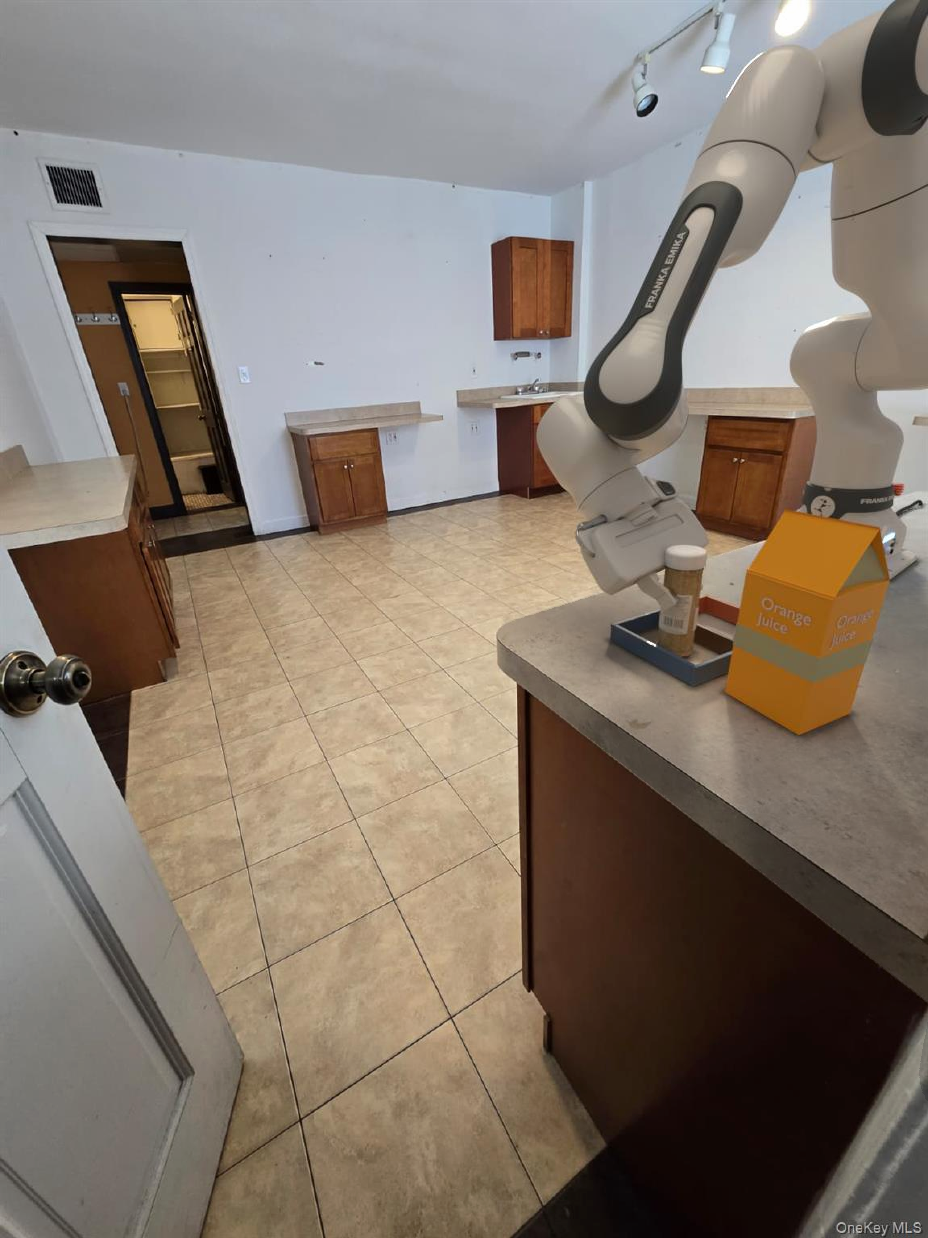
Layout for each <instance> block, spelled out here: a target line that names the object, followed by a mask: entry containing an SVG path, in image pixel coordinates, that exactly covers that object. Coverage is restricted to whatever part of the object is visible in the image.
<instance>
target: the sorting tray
mask: <svg viewBox="0 0 928 1238" xmlns="http://www.w3.org/2000/svg"><path fill="white" fill-rule="evenodd" d="M698 606H699V610H698V615H699V614H701V613H706V614H709V615H711V616H714V617H716V618H719V619H721V620H723V621H726V622H729V623H731V624H734V625H736V624H737V622H738V616H739V611H740V606H739V605H735V604H733V603H730V602H729V601H728V602H727V601H725V600H722V599H719V598H717V597H715V596H711V595H709V594H703V595H700V598H699V605H698ZM659 616H660V608H657V609H655V610H651V611H648V612H645V613H642V614H639V615H635V616H632V617H629V618H626V619H622V620H619V621H616V622H613V623H611V624H610V631H609V633H610V635H609V641H611V642H613V643H614V644H616V645H618V646H620V647H622V648H623V649H625V650H627V651H629V652H630V653H632V654H633V655H635V656H637V657H639V658H640V659H642V660H644V661H646V662H648V663H650V664H652V665H653V666H655V667H657V668H659V669H661V670H662V671H664V672H666V673H668V674H669V675H671V676H673V677H675V678H677V679H678V680H680V681H681V682H684V683H685V684H687V685H690V686H691V687H694V688H695V687H696V686H699V685H702V684H703V683H706V682H708V681H711V680H713V679H716V678H719V677H721V676H723V675H726V674H728V673H729V667H730V662H731V656H732V650H733V641H734V637H733V638H732V637H730V636H728V635H726V634H723V633H721V632H719V631H716V630H714V629H712V628H710V627H707V626H705V625H702V624H700V623H699V622H697V625H696V629H695V636H694V643H695V644H698V645H700V646H702V647H704V648H706V649H708V650H711V651H712V652H715V653H717V654H719V655H717V656H715V657H712V658H709V659H707V660H704V661H701V662H699V663H696V664H695V663H693V662H691V661H689V660H687V659H685V658H683V657H679V656H677V655H676V654H674V653H672V652H670V651H668V650H666V649H664V648H662V647H660V646H658V645H656V643H655V642H652V641H650V640H648V639H646V638H644V637H643V636H641V635H638V634H640V633H643V632H647V631H649V630H652V629H655V628H659Z"/></svg>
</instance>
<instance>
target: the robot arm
mask: <svg viewBox="0 0 928 1238" xmlns="http://www.w3.org/2000/svg"><path fill="white" fill-rule="evenodd" d="M828 164H832V171H831V182H830V201H829V204H830V207H829V209H830V211H829V213H830V215H829V216H830V217H829V218H830V243H831V245H830V246H831V270H832V271H831V272H832V277H833V279H834V281H835V283H836V285H837V286H838V287H840V288H841V289H843V290H844V291H847V292H849V293H852V294H854V295H855V296H856V297H859V299H860V300H861V301H862V302H863V303H864V304H865V306H866V307H867V308H868V311H862V312H853V313H847V314H841V315H838V316H835V317H832V318H830V319H826V320H824V321H821V322H818V323H816V324H813V325H811V326H809V327H808V328H806V329H805V330H804V331H803V332H802V333H801V334H800V336H799V337H798V338H797V340H796V342H795V344H794V346H793V347H792V350H791V353H790V358H789V372H790V376H791V378H792V381H793V382H794V384H796V385H797V386H798V387H799V388H800V389H801V390H802V391H803V392H804V394H805V395H806V397H807V398H808V400H809V403H810V405H811V407H812V411H813V414H814V418H815V425H816V440H815V446H814V454H813V461H812V465H811V472H810V475H809V480H807V481H806V482H805V486H804V488H803V491H802V497H801V503H802V504H803V505H802V506H800V508H797V510H796V511H797V512H802V513H807V514H813V515H818V516H823V517H828V518H833V519H839V520H844V521H849V522H854V523H859V524H864V525H870V526H875V527H880V532H881V537H882V542H883V547H884V552H885V557H886V563H887V568H888V573H889V578H890V580H892V579H893V578H895V577H896V576H897V575H899V574H900V573H901V572H903V571H904V570H906V569H907V568H908V567H909V566H910V565H912V564H913V563H915V561H917V558H918V554H917V553H915V552H913V551H910V550H908V549H904V547H903V546H904V543H905V539H906V535H907V529H908V528H907V525H906V524H905V523H904V521H902V519H901V518H900V517H899V515H900V514H902V513H903V512H904V511H907V510H909V509H911V508H913V507H915V506H916V505H918V506H923V505H924V502H923V500H921V499H917V500H915V501H914V502H912V503H911V504H908V505H906V506H904V507H902V508H900V509H898V510H897V511H896V512H895V511H894V510H893V508H892V507H893V506H894V499H895V498H896V497H900V496H901V495H902V494H903V493H904V490H905V484H904V483H894V482H893V480H894V477H895V474H896V470H897V467H898V463H899V460H900V456H901V452H902V449H903V446H904V441H905V438H904V432H903V430H902V428H901V426H900V425H899V424H898V423H897V422H895V421H894V420H892V419H890V418H889V417H887V416H885V414H884V413H883V412H882V410H881V408H880V406H879V403H878V392H893V391H896V392H897V391H923V390H928V0H893V1H892V2H891V3H890V4H889V5H888V6H886V7H885V8H882V9H879V10H878V11H875V12H873V13H870V14H869V15H867V16H865V17H863V18H861V19H858V20H857V21H855V22H853V23H850V24H849V25H847V26H846V27H843V28H842V29H841V30H839V31H837V32H835V33H833V34H832V35H829V36H828V37H827V38H826V39H825V40H824V41H823V42H822V43H821V44H819V45H818V46H816V47H815V48H813V49H812V50H810V49H808V48H807V47H805V46H801V45H797V44H781V45H776V46H774V47H771V48H768V49H766V50H765V51H763V52H762V53H760V54H758V55H757V56H755V58H753V59H752V60H751V61H750V62H749V63H748V64H747V65H745V67H744V68H743V70H742V71H741V72H740V74H739V75H738V77H737V79H736V80H735V82H734V84H733V85H732V87H731V89H730V90H729V92H728V94H727V95H726V97H725V99H724V101H723V103H722V104H721V106H720V108H719V110H718V112H717V114H716V116H715V118H714V120H713V122H712V124H711V126H710V128H709V130H708V132H707V134H706V136H705V139H704V140H703V143H702V145H701V148H700V150H699V152H698V155H697V157H696V160H695V162H694V165H693V167H692V170H691V172H690V175H689V177H688V180H687V182H686V185H685V188H684V191H683V193H682V196H681V198H680V201H679V204H678V207H677V210H676V212H675V214H674V216H673V218H672V220H671V221H670V224H669V226H668V228H667V230H666V232H665V235H664V236H663V238H662V240H661V243H660V245H659V247H658V249H657V251H656V253H655V255H654V258H653V260H652V261H651V264H650V266H649V269H648V271H647V273H646V275H645V278H644V280H643V282H642V284H641V287H640V289H639V291H638V293H637V295H636V297H635V299H634V302H633V303H632V306H631V307H630V310H629V312H628V314H627V316H626V318H625V319H624V321H623V323H622V324H621V326H620V327H619V328H618V330H617V331H616V333H614V335H613V336H612V337H611V339H610V340H609V341H608V342H607V343H606V344H605V345H604V347H603V348H602V349H601V351H600V352H598V354H597V355H596V357H595V358H594V360H593V362H592V363H591V365H590V367H589V369H588V371H587V374H586V377H585V378H584V379H585V380H584V385H583V393H566V394H564V395H562V396H561V397H559V398H558V399H556V400H555V401H554V402H552V403H551V405H550V406H549V407H548V408H547V409H546V411H545V412H544V414H543V415H542V416H541V419H540V421H539V423H538V425H537V429H536V444H537V447H538V449H539V452H540V454H541V456H542V458H543V460H544V462H545V463H546V465H547V467H548V468H549V470H550V471H551V473H552V475H553V476H554V478H555V479H556V481H557V483H558V484H559V485H560V487H561V488H563V490H565V491H566V492H568V493H569V495H570V496H571V497H572V499H573V501H574V505H575V507H576V510H577V511H578V513H579V514H580V516H581V517H582V518H583V520H584V521H582V522H581V521H580V523H578V524H577V525H576V529H575V532H574V533H575V534H574V538H575V541H576V543H577V544H578V546H579V547H580V554H581V556H582V558H583V561H584V563H585V564H586V566H587V568H588V570H589V572H590V574H591V577H593V579H594V581H595V583H596V584H597V586H598V587H599V589H600V590H601V591H602V592H604V593H605V594H607V595H609V596H613V595H615V594H618V593H619V592H622V591H624V590H625V589H627V588H629V587H632V586H634V585H637V587H638V588H639V590H640V591H641V592H643V593H644V594H646V595H647V596H648V597H650V598H652V599H654V600H656V602H657V603H658V605H659V606H660V607H662V609H663V610H668V609H670V608H672V607H673V606H675V605H677V604H678V603H679V602H680V598H679V597H678V596H677V594H676V592H675V591H674V590H673V589H672V590H670V591H669V590H668V589H667V588H666V587H665V586H664V585H663V583H661V582H660V581H659V580H661V578H660V576H659V575H658V573H661V572H662V571H665V552H666V549H667V548H669V547H671V546H676V545H691V546H697V547H701V548H703V549H705V548H706V547H707V546H708V545H709V536H708V533H707V530H705V528H704V527H703V525H702V524H701V521H700V520H699V518H697V516H696V515H695V514H694V512H693V511H692V510H691V508H690V507H689V506H688V504H687V503H685V502H684V501H683V500H682V499H680V498H676V497H678V496H679V495H680V490H679V489H678V487H677V486H676V484H675V483H674V482H672V481H669V480H661V479H657V478H653V477H650V476H649V475H643V473H642V472H641V471H640V469H639V468H638V467H637V465H640V464H642V463H644V462H646V461H647V460H650V459H651V458H653V457H655V456H656V455H658V454H660V453H661V452H663V451H665V450H667V449H669V448H670V447H671V446H673V445H674V444H675V443H676V442H677V441H678V439H679V438H680V437H681V436H682V434H683V432H684V431H685V429H686V426H687V423H688V419H689V406H688V405H689V404H688V399H687V393H686V391H685V390H686V389H685V386H684V381H683V379H684V378H683V350H684V344H685V341H686V338H687V335H688V333H689V330H690V329H691V326H692V324H693V322H694V320H695V318H696V315H697V313H698V312H699V309H700V307H701V305H702V302H703V300H704V298H705V296H706V294H707V292H708V289H709V287H710V285H711V283H712V281H713V279H714V277H715V275H716V273H717V271H718V269H726V268H732V267H734V266H737V265H740V264H742V263H744V262H746V261H748V260H749V259H751V258H752V257H753V256H755V255H756V254H758V253H759V251H760V249H762V247H763V245H764V244H765V242H766V241H767V239H768V237H769V236H770V234H771V232H772V231H773V229H774V228H775V226H776V224H777V222H778V220H779V219H780V217H781V215H782V213H783V211H784V209H785V207H786V205H787V202H788V200H789V198H790V196H791V194H792V191H793V189H794V186H795V184H796V182H797V180H798V177H799V175H800V173H804V172H808V171H811V170H814V169H817V168H821V167H823V166H826V165H828ZM702 590H704V584H703V583H702V584H701V590H700V592H701V591H702Z"/></svg>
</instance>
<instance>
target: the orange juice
mask: <svg viewBox="0 0 928 1238" xmlns="http://www.w3.org/2000/svg"><path fill="white" fill-rule="evenodd" d="M890 582H891V579H890V578H889V573H888V568H887V563H886V557H885V552H884V547H883V542H882V537H881V532H880V527H875V526H870V525H864V524H859V523H854V522H849V521H844V520H839V519H833V518H828V517H823V516H818V515H813V514H807V513H802V512H797V510H792V509H786V508H785V509H784V511H783V513H782V515H781V516H780V518H779V519H778V521H777V523H776V524H775V526H774V527H773V528H772V529H771V532H770V534H769V535H768V536H767V538H766V540H765V542H764V543H763V545H762V546H761V548H760V549H759V551H758V553H757V554H756V556H755V557H754V559H753V561H752V562H751V564H750V565H749V566H748V568H746V570H745V577H744V583H743V588H742V594H741V599H740V604H739V605H740V606H739V607H740V611H739V616H738V622H737V624H735V629H734V630H735V631H734V636H733V639H734V641H733V650H732V656H731V662H730V667H729V673H727V680H726V684H725V690H724V693H725V694H726V695H728V696H730V697H732V698H734V699H736V700H737V701H738V702H741V703H742V704H744V705H745V706H747V707H749V708H751V709H753V710H754V711H756V712H758V713H759V714H761V715H763V716H764V717H767V718H768V719H770V720H772V721H773V722H775V723H777V724H778V725H781V726H782V727H784V728H785V729H787V730H789V731H790V732H792V733H794V734H795V735H797V736H800V735H803V734H805V733H807V732H810V731H812V730H814V729H817V728H820V727H822V726H824V725H827V724H829V723H831V722H834V721H835V720H838V719H841V718H843V717H845V716H847V715H850V714H851V710H852V707H853V705H854V700H855V698H856V695H857V690H858V687H859V684H860V681H861V677H862V675H863V672H864V667H865V664H866V663H867V661H868V657H869V654H870V650H871V647H872V645H873V640H874V639H873V638H874V634H875V632H876V627H877V625H878V622H879V618H880V615H881V612H882V608H883V604H884V601H885V599H886V595H887V591H888V588H889V585H890Z"/></svg>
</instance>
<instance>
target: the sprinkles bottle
mask: <svg viewBox="0 0 928 1238" xmlns="http://www.w3.org/2000/svg"><path fill="white" fill-rule="evenodd" d="M707 560H708V552H707V550H706V549H705V548H701V547H697V546H691V545H676V546H671V547H669V548H667V549H666V552H665V569H664V574H663V583H662V585H664V586H665V587H666V588H667V589H668V590H669V591H670V590H672V589H673V590H674V591H675V592H676V594H677V596H678V597H679V598H680V602H679V603H678V604H677V605H675V606H673V607H672V608H670V609H668V610H663V609H662V607H661V606H660V607H659V609H660V616H659V627H658V633H657V640H656V643H655V644H656V645H658V646H660V647H662V648H664V649H666V650H668V651H670V652H672V653H674V654H676V655H677V656H679V657H681V658H683V657H689V656H690V655H691V654H693V652H694V649H695V648H694V643H695V642H694V636H695V629H696V625H697V623H698V617H699V614H698V610H699V606H698V605H699V598H700V596H701V591H702V590H701V584H702V585H703V574H704V570H705V567H706V565H707ZM700 590H701V591H700Z"/></svg>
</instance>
